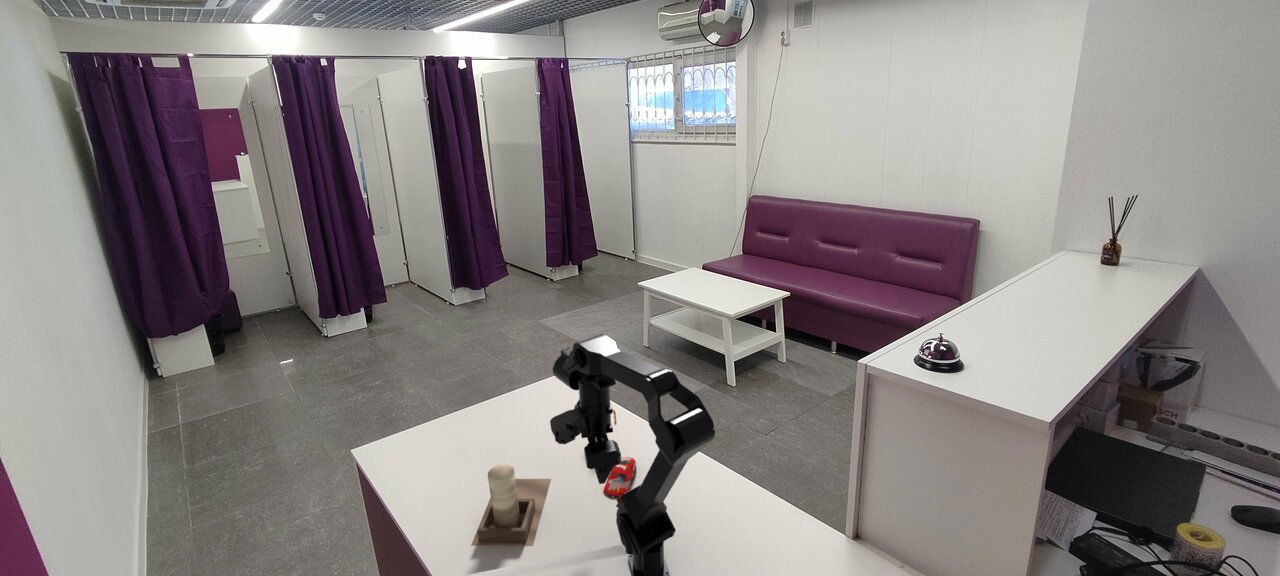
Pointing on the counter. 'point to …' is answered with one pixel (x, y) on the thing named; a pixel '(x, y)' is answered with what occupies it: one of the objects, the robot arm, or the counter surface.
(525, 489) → the jig board
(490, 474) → the post
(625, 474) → the race car
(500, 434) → the counter surface
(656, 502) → the robot arm
